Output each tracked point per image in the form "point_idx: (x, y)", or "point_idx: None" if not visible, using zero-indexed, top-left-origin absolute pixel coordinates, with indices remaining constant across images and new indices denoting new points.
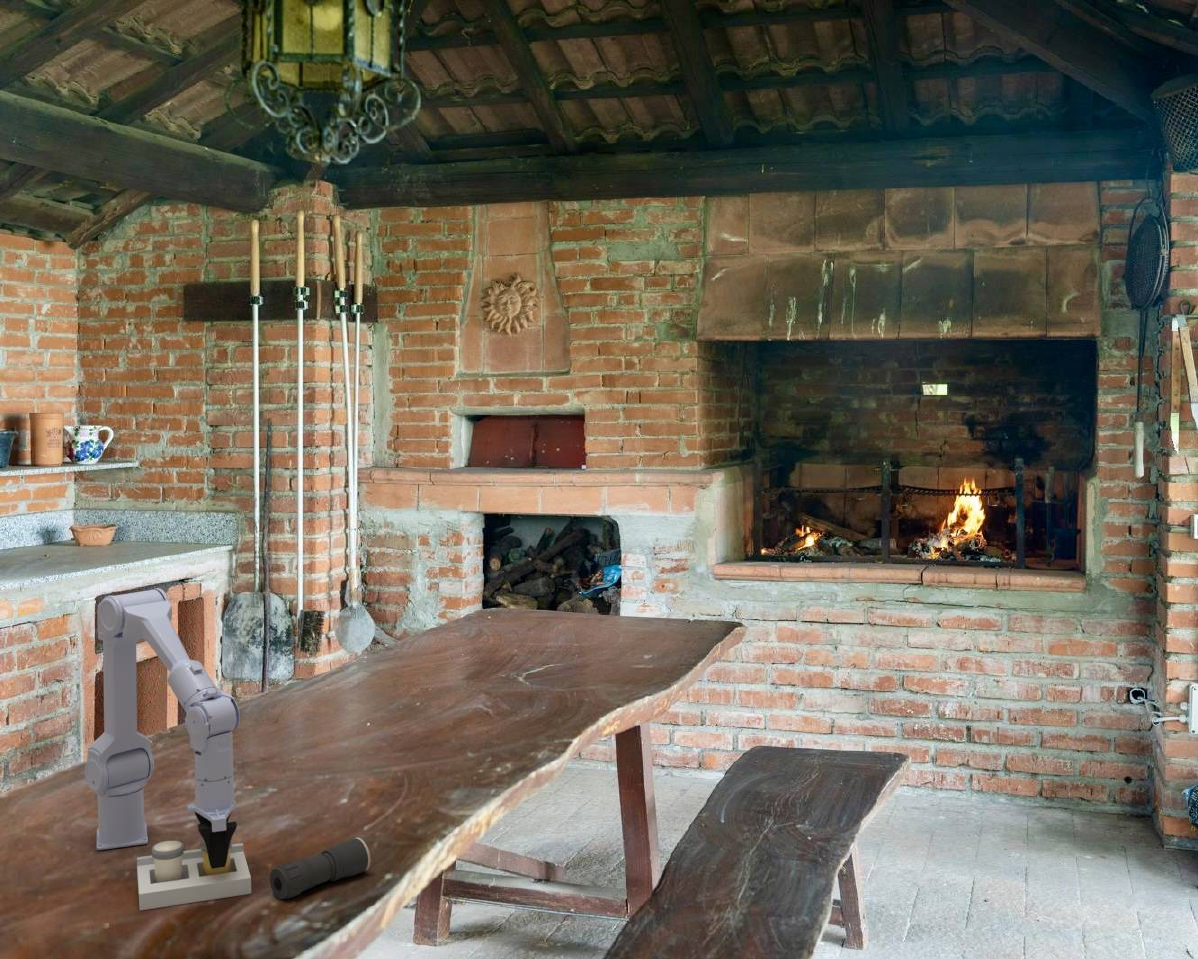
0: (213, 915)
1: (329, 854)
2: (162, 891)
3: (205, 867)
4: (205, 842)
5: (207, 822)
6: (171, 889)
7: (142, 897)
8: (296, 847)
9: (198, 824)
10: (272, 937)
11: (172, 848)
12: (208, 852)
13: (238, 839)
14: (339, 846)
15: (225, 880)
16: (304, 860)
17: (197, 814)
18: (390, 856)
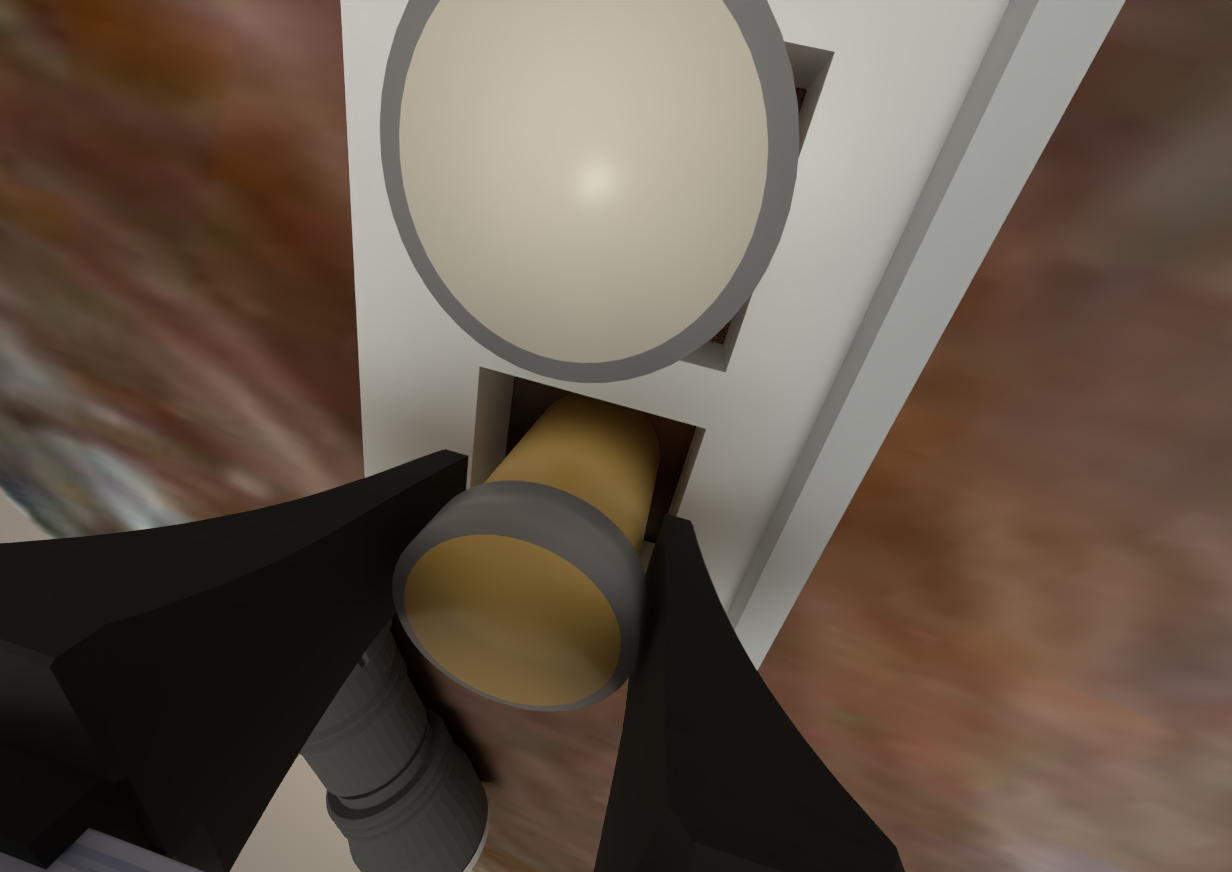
0: (254, 310)
1: (344, 808)
2: (346, 59)
3: (542, 436)
4: (195, 524)
5: (642, 756)
6: (349, 135)
7: None
8: None
9: (39, 668)
10: (51, 422)
11: (442, 212)
12: (334, 491)
13: (1055, 712)
14: (370, 855)
15: (376, 460)
16: (308, 745)
17: (668, 847)
18: (513, 850)
